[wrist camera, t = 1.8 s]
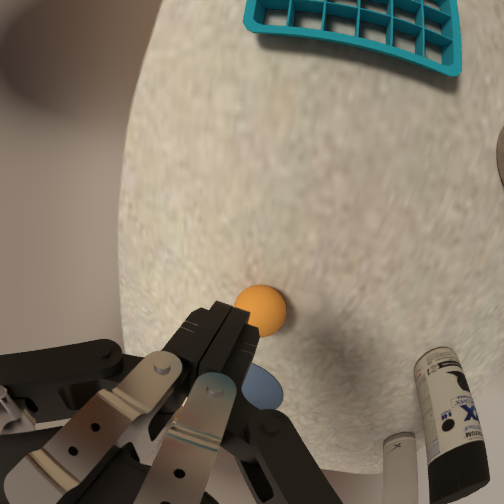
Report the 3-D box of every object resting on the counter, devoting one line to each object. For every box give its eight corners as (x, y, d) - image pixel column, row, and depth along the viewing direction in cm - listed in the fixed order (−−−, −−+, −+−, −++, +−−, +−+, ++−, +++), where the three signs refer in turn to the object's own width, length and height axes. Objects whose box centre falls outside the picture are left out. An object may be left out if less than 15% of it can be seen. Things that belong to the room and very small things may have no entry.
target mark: (295, 376, 34) (295, 377, 34) (269, 422, 40) (269, 423, 40) (199, 343, 36) (199, 344, 36) (193, 395, 42) (193, 396, 42)
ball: (295, 284, 29) (288, 314, 24) (282, 323, 31) (272, 354, 26) (247, 269, 30) (230, 295, 25) (238, 308, 32) (222, 337, 27)
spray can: (464, 355, 26) (500, 478, 8) (431, 385, 29) (448, 505, 11) (438, 338, 27) (476, 480, 9) (403, 372, 30) (415, 508, 12)
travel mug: (389, 431, 35) (386, 530, 17) (420, 431, 33) (424, 524, 16) (376, 447, 37) (370, 536, 20) (405, 446, 36) (405, 531, 18)
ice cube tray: (264, -36, 16) (257, -49, 13) (446, 2, 12) (455, -8, 10) (249, 42, 21) (240, 31, 18) (449, 86, 17) (461, 81, 14)
